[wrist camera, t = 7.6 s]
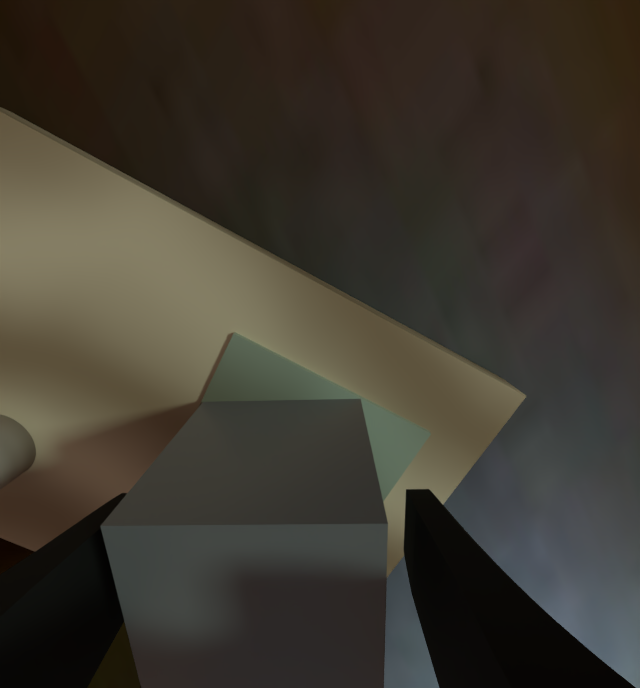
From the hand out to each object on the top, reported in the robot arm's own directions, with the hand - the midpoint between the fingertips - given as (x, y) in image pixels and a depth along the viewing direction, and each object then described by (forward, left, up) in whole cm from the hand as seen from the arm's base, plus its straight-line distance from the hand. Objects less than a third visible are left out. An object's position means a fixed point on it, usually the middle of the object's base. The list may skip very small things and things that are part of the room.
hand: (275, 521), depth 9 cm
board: (-1, +4, -4) cm, 5 cm away
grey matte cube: (0, 0, -2) cm, 2 cm away
